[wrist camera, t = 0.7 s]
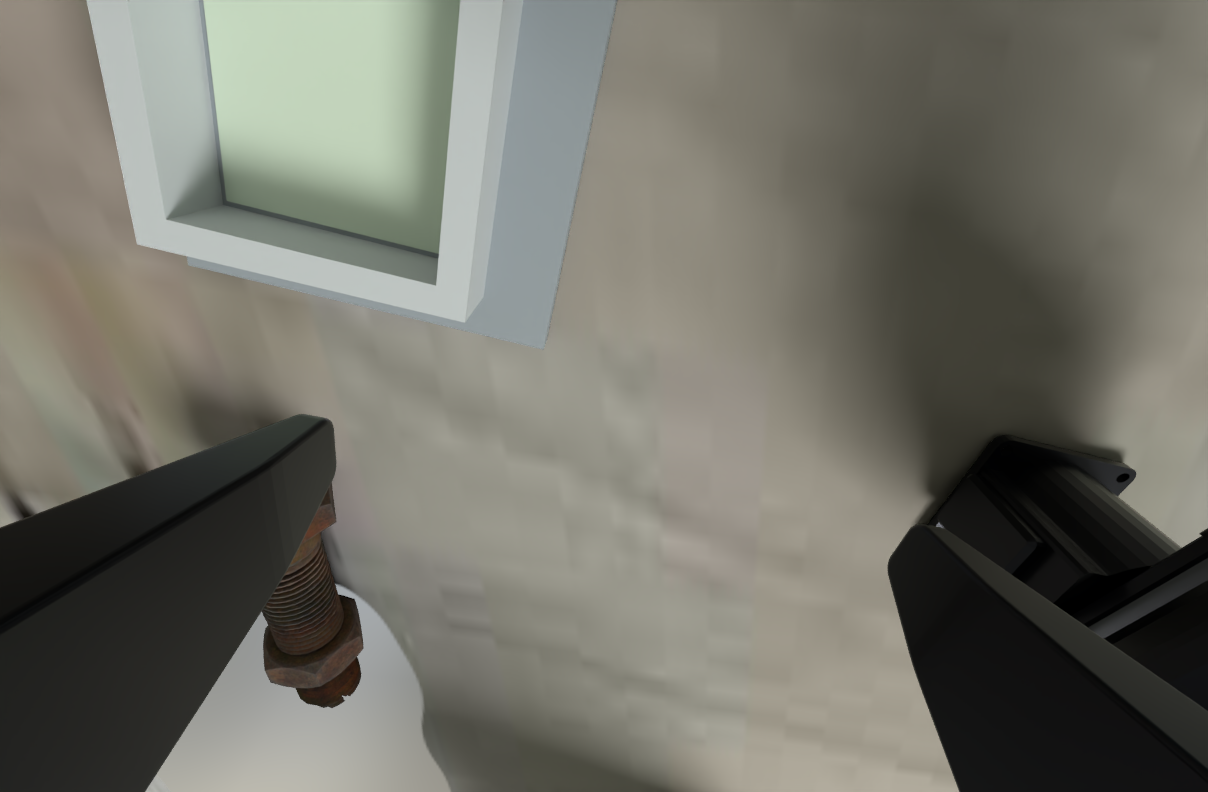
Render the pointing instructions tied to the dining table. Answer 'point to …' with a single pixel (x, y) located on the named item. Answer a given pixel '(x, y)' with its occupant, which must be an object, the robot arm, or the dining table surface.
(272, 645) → the bolt
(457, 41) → the white tray
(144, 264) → the dining table surface
